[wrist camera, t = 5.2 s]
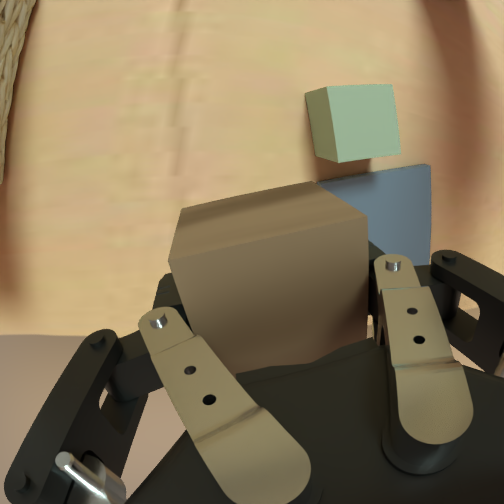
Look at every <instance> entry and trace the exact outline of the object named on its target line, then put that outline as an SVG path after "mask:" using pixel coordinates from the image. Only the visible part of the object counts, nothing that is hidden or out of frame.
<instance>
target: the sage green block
mask: <svg viewBox="0 0 504 504" xmlns="http://www.w3.org/2000/svg"><path fill="white" fill-rule="evenodd" d="M305 97H306V103H307V108H308V114H309V120H310V125H311V131H312V138H313V144H314V150H315V156H317V157H321V158H324V159H327V160H331V161H334V162H337V163H341V162H347V161H354V160H361V159H368V158H375V157H382V156H390V155H398V154H401V148H400V138H399V129H398V120H397V113H396V105H395V99H394V92H393V86H392V84H373V85H345V86H329V87H324V88H320V89H317V90H314V91H310V92H307V93H305Z"/></svg>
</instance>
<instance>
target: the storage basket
mask: <svg viewBox="0 0 504 504" xmlns="http://www.w3.org/2000/svg"><path fill="white" fill-rule="evenodd" d="M35 2H36V0H0V185H1V184H2V182H3V174H4V163H5V158H4V154H5V140H6V133H7V120H8V119H7V116H8V114H9V110H10V106H11V101H12V92H13V83H14V80H15V76H16V71H17V66H18V60H19V54H20V52H21V50H22V47H23V44H24V39H25V31H27V29H26V28H27V26H28V20H29V17H30V14H31V11H32V8H33V7H34V4H35Z"/></svg>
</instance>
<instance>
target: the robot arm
mask: <svg viewBox="0 0 504 504" xmlns="http://www.w3.org/2000/svg"><path fill="white" fill-rule="evenodd" d="M368 250H369V288H368V315H372V335H373V337H371V338H368V339H365V340H361V341H358V342H355V343H352V344H349V345H346V346H343V347H340V348H338V349H336V350H335V351H333V352H331V353H329V354H327V355H325V356H323V357H321V358H319V359H317V360H315V361H313V362H311V363H307V364H296V365H280V366H269V367H264V368H260V369H256V370H251V371H247V372H242V373H237V374H236V379H235V378H234V377H233V376H232V374H231V373H230V372H229V371H228V370H227V368H226V367H225V366H224V365H223V363H222V362H221V361H220V360H219V358H218V357H217V356H216V355H215V353H214V352H213V351H212V350H211V348H210V347H209V346H208V344H207V343H206V342H205V341H204V339H203V338H202V337H201V336H200V335H199V334H198V335H196V336H194V334H193V331H192V329H191V326H190V323H189V321H188V318H187V315H186V312H185V309H184V307H183V304H182V301H181V298H180V295H179V292H178V289H177V287H176V284H175V281H174V278H173V275H172V273H168V274H165V275H164V276H163V278H162V279H161V280H160V281H159V284H158V290H157V292H156V296H155V300H154V304H153V309H152V310H151V311H149V312H147V313H146V314H145V315H143V316H142V317H141V319H140V320H139V322H138V327H139V330H138V331H136V332H134V333H132V334H129V335H127V336H124V337H122V338H118V337H117V335H116V333H115V332H114V331H113V330H110V329H102V330H99V331H96V332H94V333H92V334H90V335H89V336H88V337H86V338H85V339H84V341H83V342H82V343H81V345H80V346H79V348H78V349H77V351H76V353H75V354H74V356H73V357H72V359H71V360H70V362H69V363H68V365H67V367H66V368H65V370H64V371H63V373H62V375H61V377H60V378H59V379H58V381H57V383H56V384H55V386H54V388H53V389H52V391H51V393H50V394H49V396H48V398H47V400H46V401H45V403H44V405H43V407H42V408H41V410H40V412H39V413H38V415H37V417H36V419H35V421H34V423H33V424H32V426H31V428H30V430H29V432H28V433H27V435H26V437H25V439H24V441H23V443H22V445H21V447H20V449H19V451H18V453H17V455H16V457H15V459H14V461H13V463H12V465H11V467H10V469H9V471H8V474H7V475H6V478H5V482H4V491H5V495H6V497H7V499H8V500H9V502H11V503H12V504H504V276H503V275H502V274H500V273H498V272H496V271H494V270H492V269H490V268H488V267H486V266H485V265H483V264H481V263H479V262H477V261H475V260H473V259H471V258H469V257H467V256H465V255H463V254H461V253H459V252H456V251H452V250H439V251H436V252H434V253H433V254H432V257H431V265H419V266H413V264H412V262H411V260H410V259H409V258H407V257H405V256H403V255H398V254H385V253H384V252H383V251H382V250H380V249H379V248H378V247H377V246H376V245H375V246H374V244H373V243H372V242H371V241H369V240H368ZM461 293H463V294H464V295H466V296H467V297H469V298H471V299H472V300H474V301H475V302H476V303H477V304H478V306H479V308H480V316H479V320H476V319H475V318H474V317H472V316H470V315H469V314H468V313H466V312H465V311H463V310H462V309H460V308H459V307H458V305H459V301H460V296H461ZM449 343H450V344H451V345H452V346H453V347H455V348H456V349H457V350H459V351H460V352H461V353H463V354H464V355H465V356H466V357H468V358H469V359H470V360H471V361H473V362H474V363H475V364H476V365H478V366H479V367H480V368H481V369H483V370H484V371H485V372H483V371H480V370H477V369H474V368H471V367H468V366H465V365H462V364H461V363H460V362H459V361H456V360H455V359H454V357H453V354H452V351H451V347H450V344H449ZM162 387H165V389H166V391H167V393H168V395H169V397H170V399H171V401H172V403H173V405H174V407H175V409H176V411H177V412H178V415H179V417H180V418H181V420H182V422H183V424H184V426H185V427H186V430H185V432H184V433H183V434H182V436H181V437H180V438H179V439H178V440H177V442H176V443H175V444H174V445H173V446H172V448H171V449H170V450H169V451H168V453H167V454H166V455H165V456H164V457H163V459H162V460H161V461H160V462H159V463H158V465H157V466H156V467H155V468H154V469H153V471H152V472H151V473H150V474H149V475H148V476H147V478H146V479H145V480H144V481H143V482H142V483H141V485H140V486H139V487H138V488H137V489H136V490H135V491H134V493H133V494H132V495H131V496H130V498H128V499H126V487H125V485H124V483H123V481H122V480H121V479H120V478H121V475H122V472H123V469H124V466H125V463H126V460H127V457H128V454H129V451H130V448H131V445H132V442H133V439H134V436H135V433H136V430H137V427H138V424H139V421H140V418H141V416H142V413H143V410H144V407H145V404H146V402H147V398H148V393H150V392H152V391H155V390H157V389H160V388H162ZM104 388H105V389H106V390H107V392H108V394H107V396H106V398H105V401H104V403H103V405H102V407H101V409H100V408H99V399H100V396H101V394H102V392H103V390H104Z"/></svg>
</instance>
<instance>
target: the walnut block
mask: <svg viewBox="0 0 504 504" xmlns="http://www.w3.org/2000/svg"><path fill="white" fill-rule="evenodd" d="M168 262H169V266H170V269H171V272H172V275H173V278H174V281H175V284H176V287H177V289H178V292H179V295H180V298H181V301H182V304H183V307H184V309H185V312H186V315H187V318H188V321H189V323H190V326H191V329H192V331H193V334H194V336H196V335H198V334H199V335H200V336H201V337H202V338H203V339H204V341H205V342H206V343H207V344H208V346H209V347H210V348H211V350H212V351H213V352H214V353H215V355H216V356H217V357H218V358H219V360H220V361H221V362H222V363H223V365H224V366H225V367H226V368H227V370H228V371H229V372H230V373H231V374H232V376H233V377H234V378H235V379H236V374H237V373H242V372H247V371H251V370H256V369H260V368H264V367H269V366H280V365H296V364H307V363H311V362H313V361H315V360H317V359H319V358H321V357H323V356H325V355H327V354H329V353H331V352H333V351H335V350H336V349H338V348H340V347H343V346H346V345H349V344H352V343H355V342H358V341H361V340H365V339H366V338H367V320H368V288H369V250H368V217H367V216H366V215H365V214H363V213H362V212H360V211H359V210H357V209H356V208H354V207H353V206H351V205H349V204H348V203H346V202H345V201H343V200H341V199H340V198H338V197H337V196H335V195H333V194H332V193H330V192H329V191H327V190H325V189H324V188H322V187H320V186H319V185H317V184H315V183H314V182H312V181H310V182H304V183H299V184H294V185H288V186H283V187H278V188H273V189H268V190H263V191H258V192H254V193H249V194H244V195H239V196H235V197H230V198H226V199H221V200H217V201H212V202H208V203H204V204H199V205H195V206H191V207H187V208H183V209H181V213H180V217H179V220H178V224H177V227H176V231H175V235H174V239H173V242H172V246H171V250H170V254H169V258H168Z"/></svg>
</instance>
